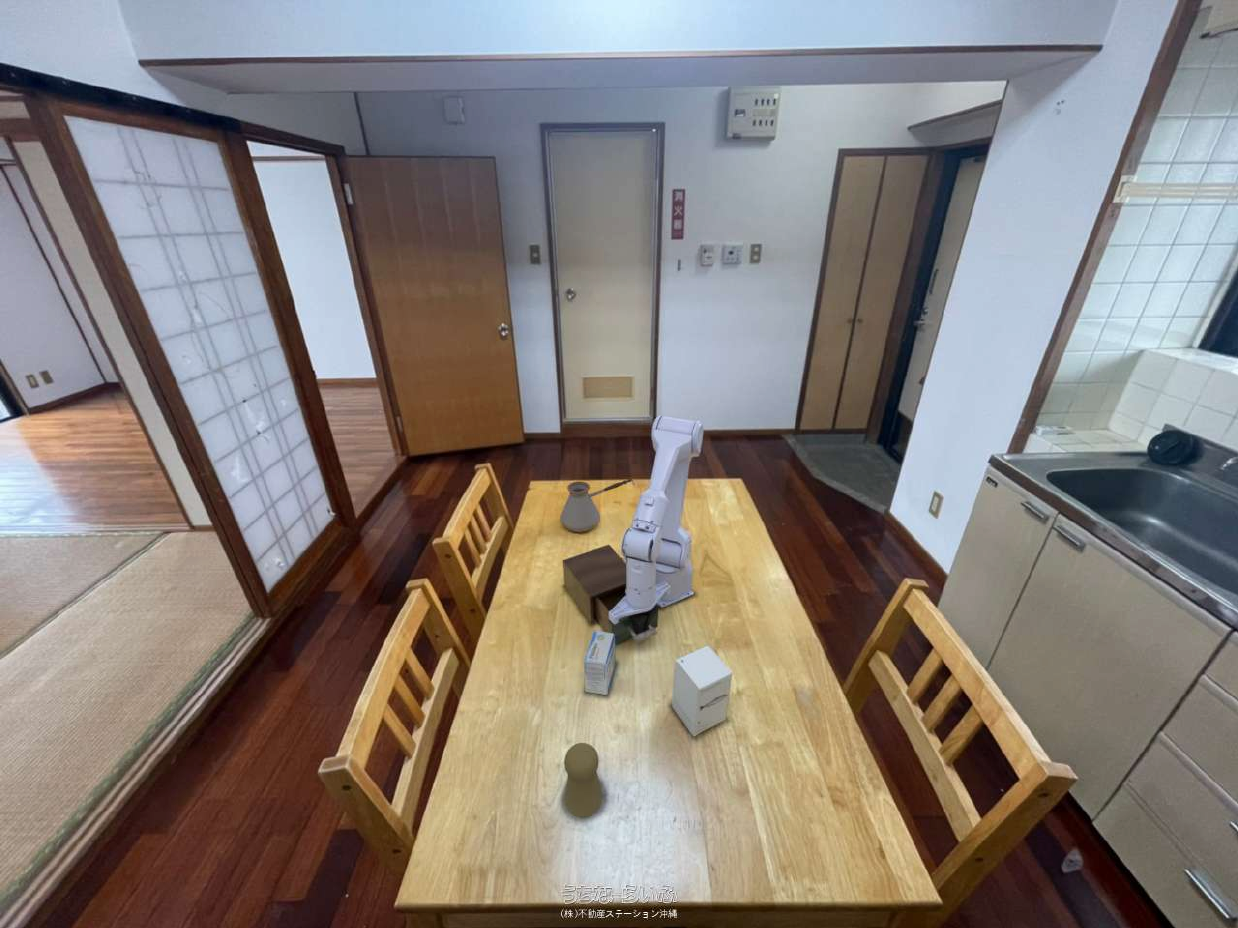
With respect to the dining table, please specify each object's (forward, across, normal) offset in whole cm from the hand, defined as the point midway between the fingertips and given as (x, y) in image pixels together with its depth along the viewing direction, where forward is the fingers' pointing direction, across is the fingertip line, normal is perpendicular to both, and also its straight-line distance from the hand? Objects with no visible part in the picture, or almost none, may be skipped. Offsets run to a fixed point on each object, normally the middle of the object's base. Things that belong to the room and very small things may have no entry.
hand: (640, 632), depth 108 cm
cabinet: (+4, -2, -18) cm, 18 cm away
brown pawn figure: (+4, +27, +19) cm, 33 cm away
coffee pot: (+4, -19, -43) cm, 47 cm away
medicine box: (+4, +11, +2) cm, 12 cm away
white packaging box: (+4, +2, +19) cm, 20 cm away
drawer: (+3, -1, -6) cm, 7 cm away
